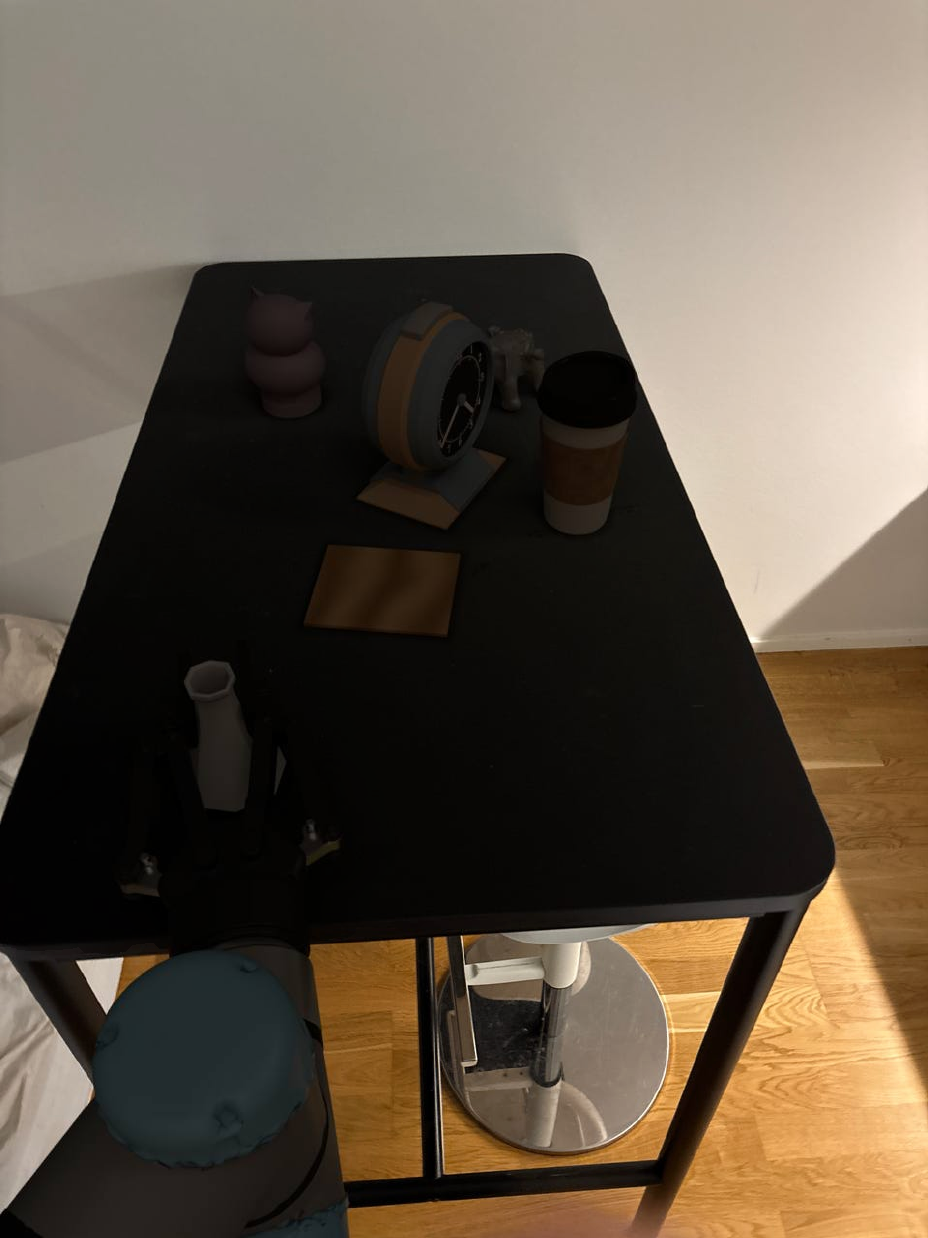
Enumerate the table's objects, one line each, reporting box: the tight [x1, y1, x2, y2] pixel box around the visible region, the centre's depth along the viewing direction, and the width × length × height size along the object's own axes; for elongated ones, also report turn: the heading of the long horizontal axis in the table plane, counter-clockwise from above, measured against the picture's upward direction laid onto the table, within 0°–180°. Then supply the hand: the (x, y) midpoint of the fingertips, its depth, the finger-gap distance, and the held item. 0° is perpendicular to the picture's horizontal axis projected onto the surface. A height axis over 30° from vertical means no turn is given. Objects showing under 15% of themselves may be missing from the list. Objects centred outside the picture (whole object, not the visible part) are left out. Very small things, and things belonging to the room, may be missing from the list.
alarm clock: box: [355, 301, 507, 531], centre depth 89 cm, size 14×10×18 cm
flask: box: [184, 659, 287, 813], centre depth 66 cm, size 7×7×10 cm
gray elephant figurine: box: [485, 324, 546, 412], centre depth 102 cm, size 9×12×8 cm
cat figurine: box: [243, 285, 326, 419], centre depth 101 cm, size 8×8×12 cm
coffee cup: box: [536, 350, 638, 536], centre depth 86 cm, size 8×8×15 cm
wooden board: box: [303, 544, 462, 638], centre depth 84 cm, size 12×10×1 cm
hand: (215, 659), depth 69 cm, fingers closed on flask, 3 cm apart
